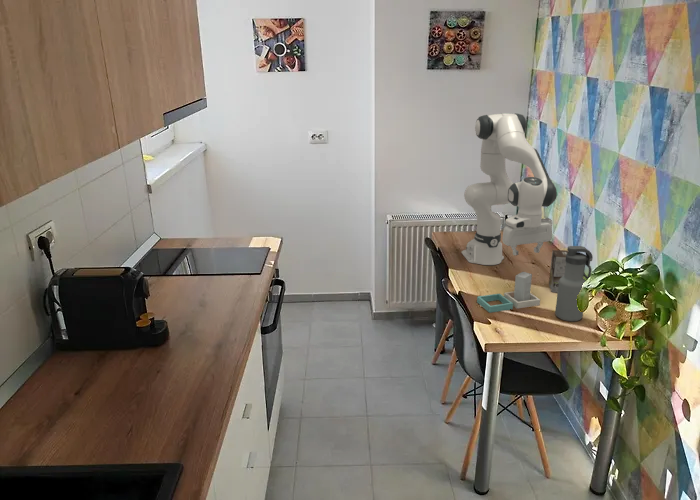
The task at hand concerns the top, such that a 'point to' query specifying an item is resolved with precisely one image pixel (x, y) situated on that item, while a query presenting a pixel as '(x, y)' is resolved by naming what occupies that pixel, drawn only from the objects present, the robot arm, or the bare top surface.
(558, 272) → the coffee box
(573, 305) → the water bottle
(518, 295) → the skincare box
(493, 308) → the shallow square trays
